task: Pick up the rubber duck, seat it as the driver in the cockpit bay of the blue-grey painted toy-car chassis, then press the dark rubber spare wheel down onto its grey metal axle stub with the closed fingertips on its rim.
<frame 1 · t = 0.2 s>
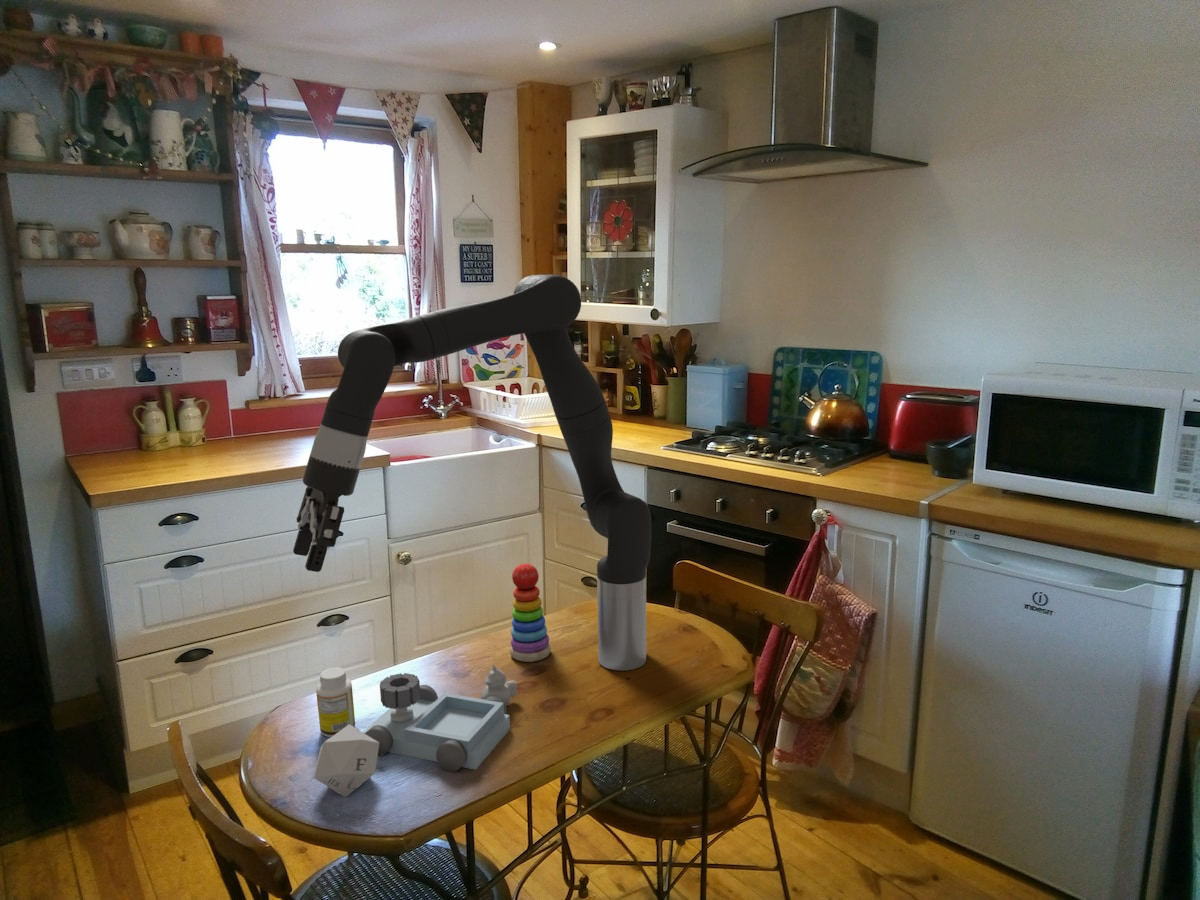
hand: (306, 562, 123), 31 cm above the table, tool tilted 20°, fingers open, 8 cm apart
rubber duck: (500, 706, 142), on the table
die: (349, 785, 120), on the table
stacking toy: (530, 655, 161), on the table
chassis: (437, 737, 132), on the table
spare wheel: (400, 690, 133), point 7 cm above the table, slide at 0.0 cm
supplement bottle: (338, 731, 135), on the table
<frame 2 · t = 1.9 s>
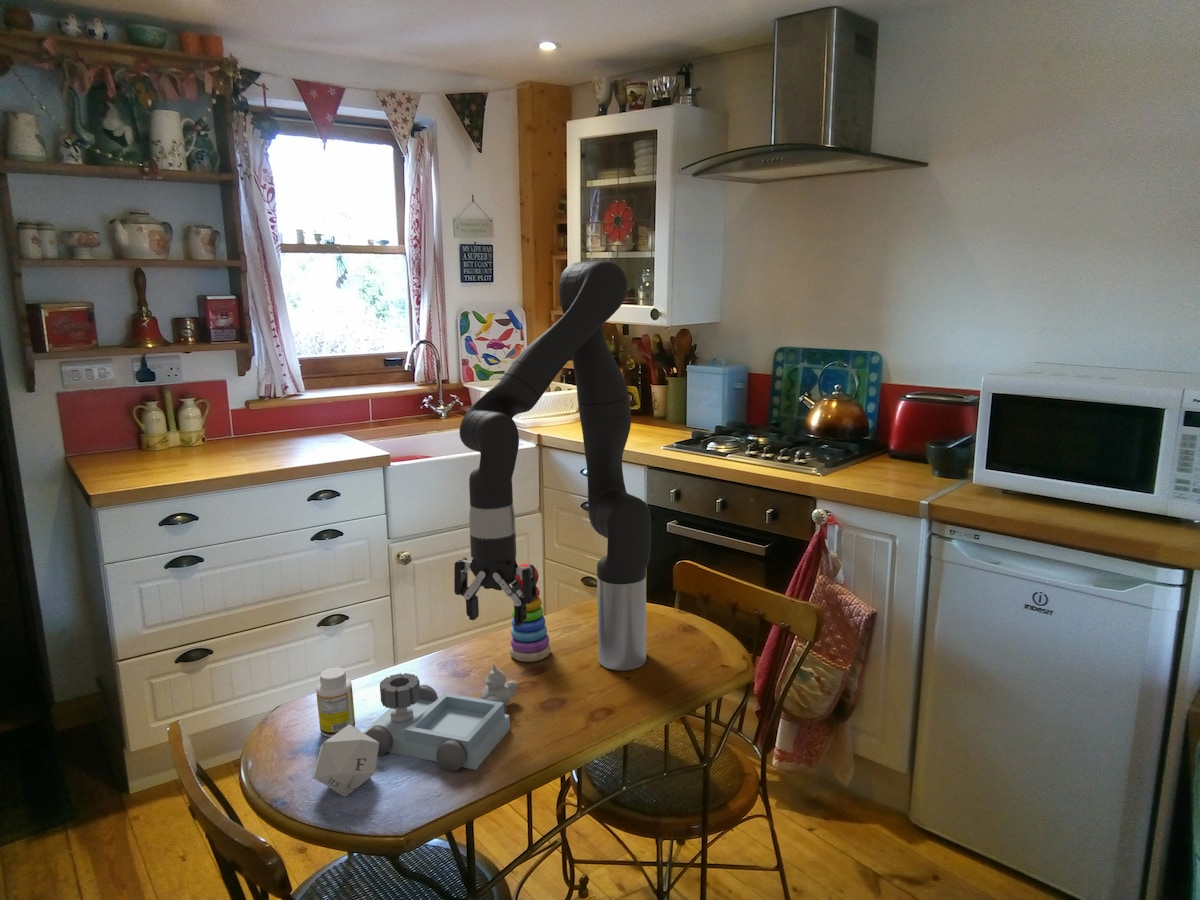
hand: (496, 621, 139), 15 cm above the table, tool pointing down, fingers open, 8 cm apart
nothing on the table moved.
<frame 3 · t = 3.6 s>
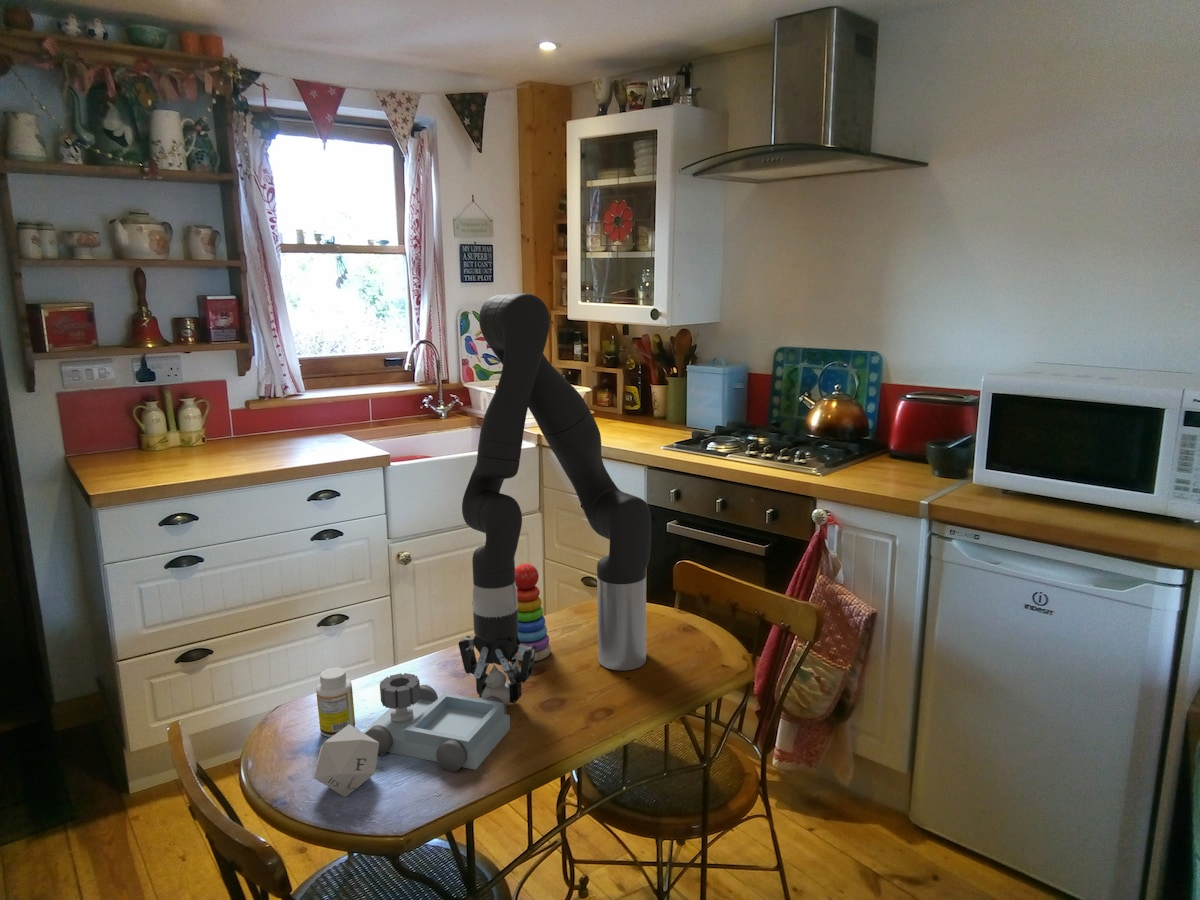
hand: (499, 698, 142), 1 cm above the table, tool pointing down, fingers closed on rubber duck, 5 cm apart
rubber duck: (500, 706, 142), on the table, touching gripper
everything else where it was.
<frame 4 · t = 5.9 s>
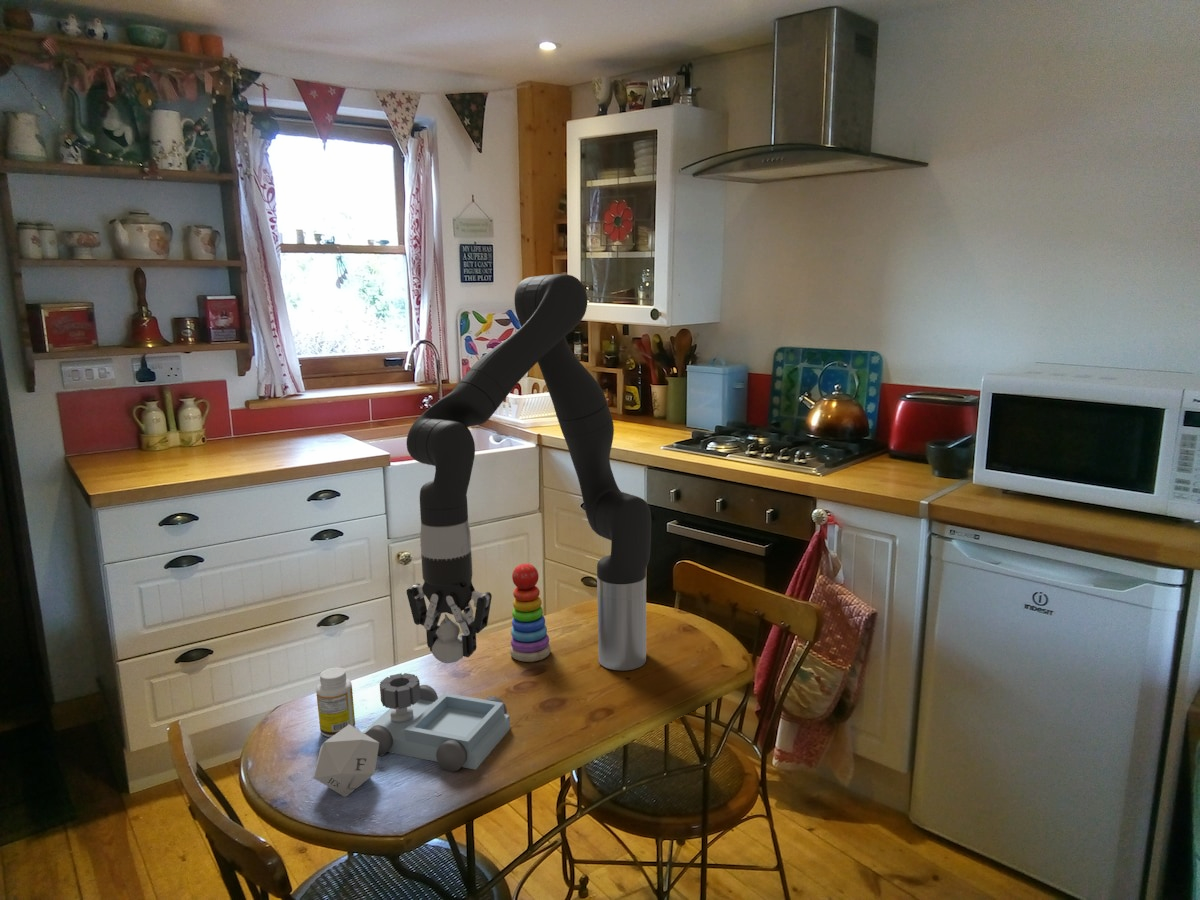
hand: (451, 651, 128), 15 cm above the table, tool pointing down, fingers closed on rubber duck, 5 cm apart
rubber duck: (453, 661, 128), point 14 cm above the table, touching gripper
everything else where it was.
when the fingers open (5 cm above the table, at t = 8.2 s): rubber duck drops 1 cm, resting on chassis.
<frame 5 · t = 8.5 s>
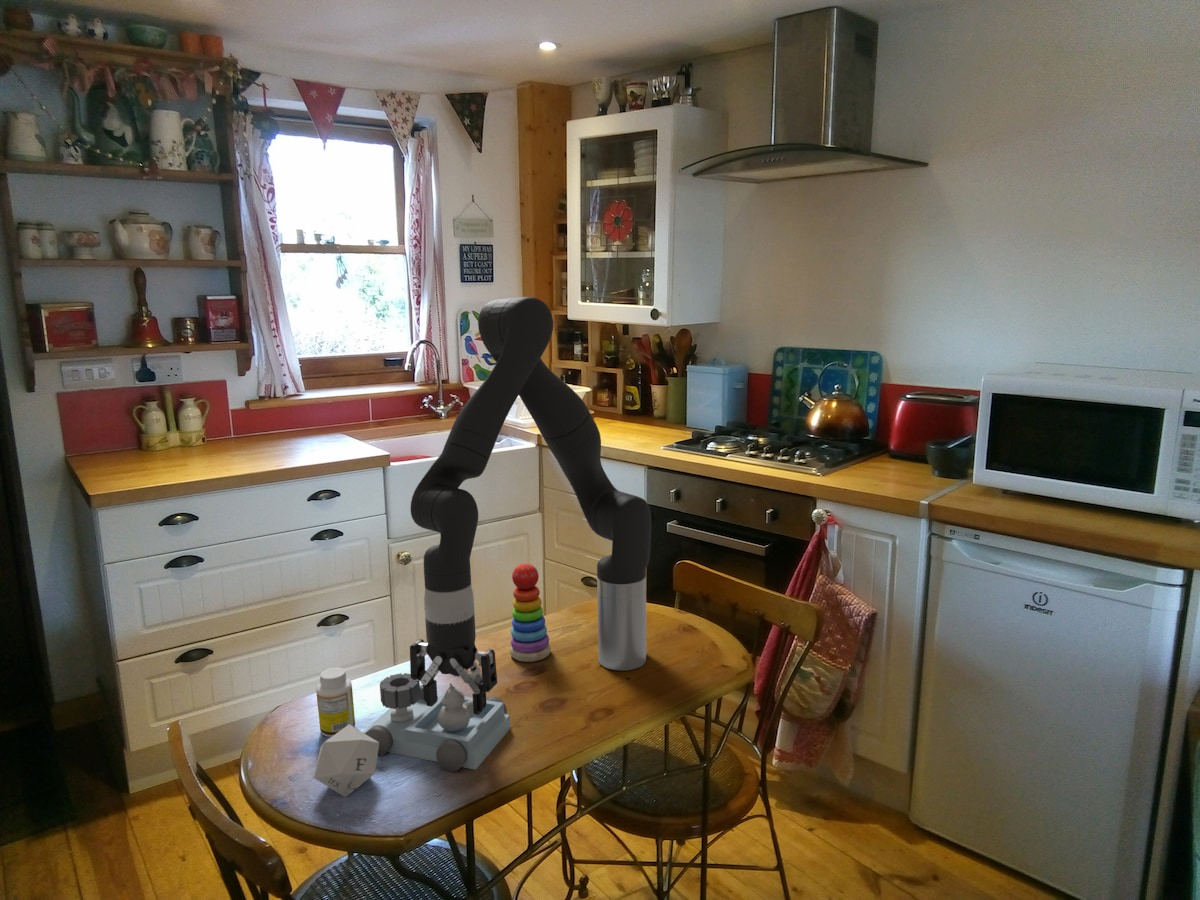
hand: (455, 708, 130), 6 cm above the table, tool pointing down, fingers open, 8 cm apart
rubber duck: (458, 728, 130), point 2 cm above the table, touching chassis
everything else where it was.
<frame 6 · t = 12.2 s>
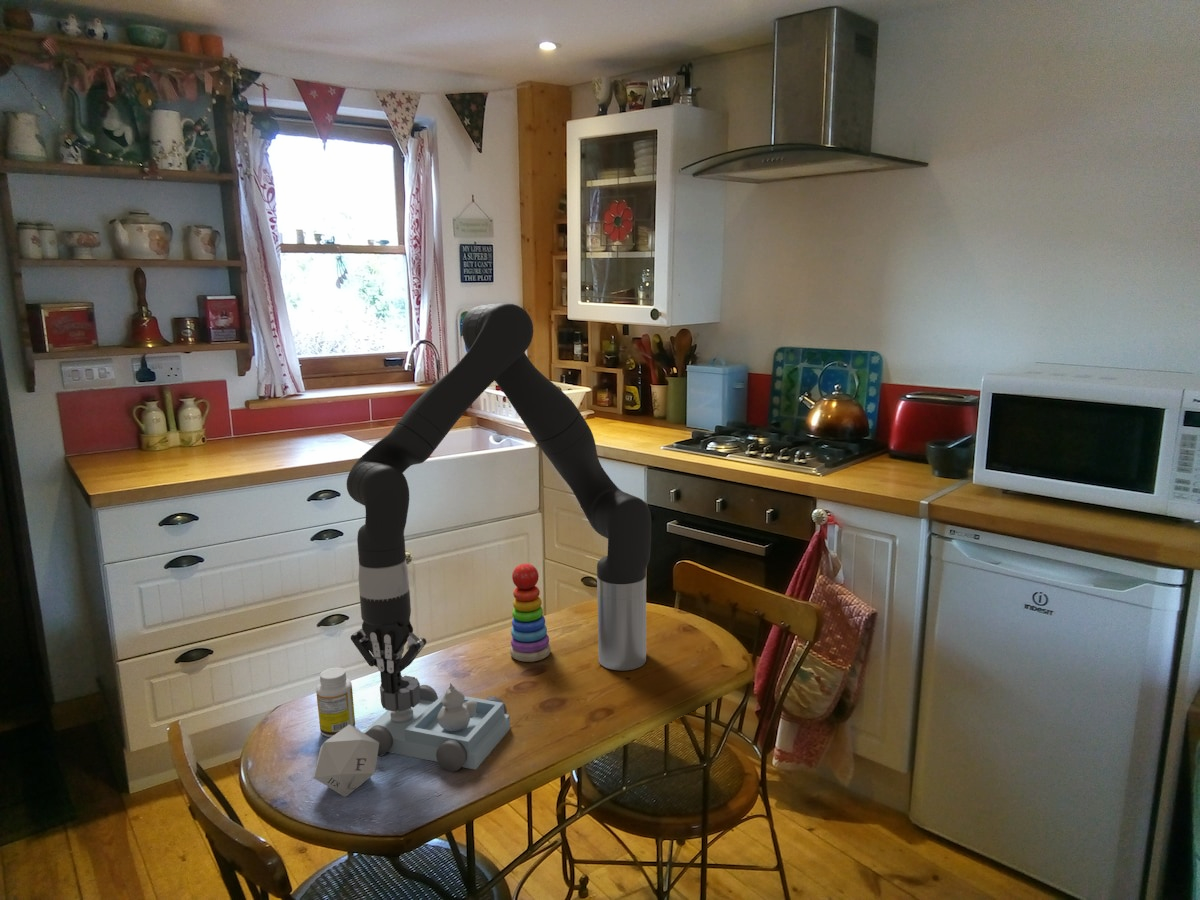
hand: (391, 690, 130), 8 cm above the table, tool pointing down, fingers closed
spare wheel: (400, 693, 133), point 7 cm above the table, slide at 0.4 cm, touching gripper
everything else where it was.
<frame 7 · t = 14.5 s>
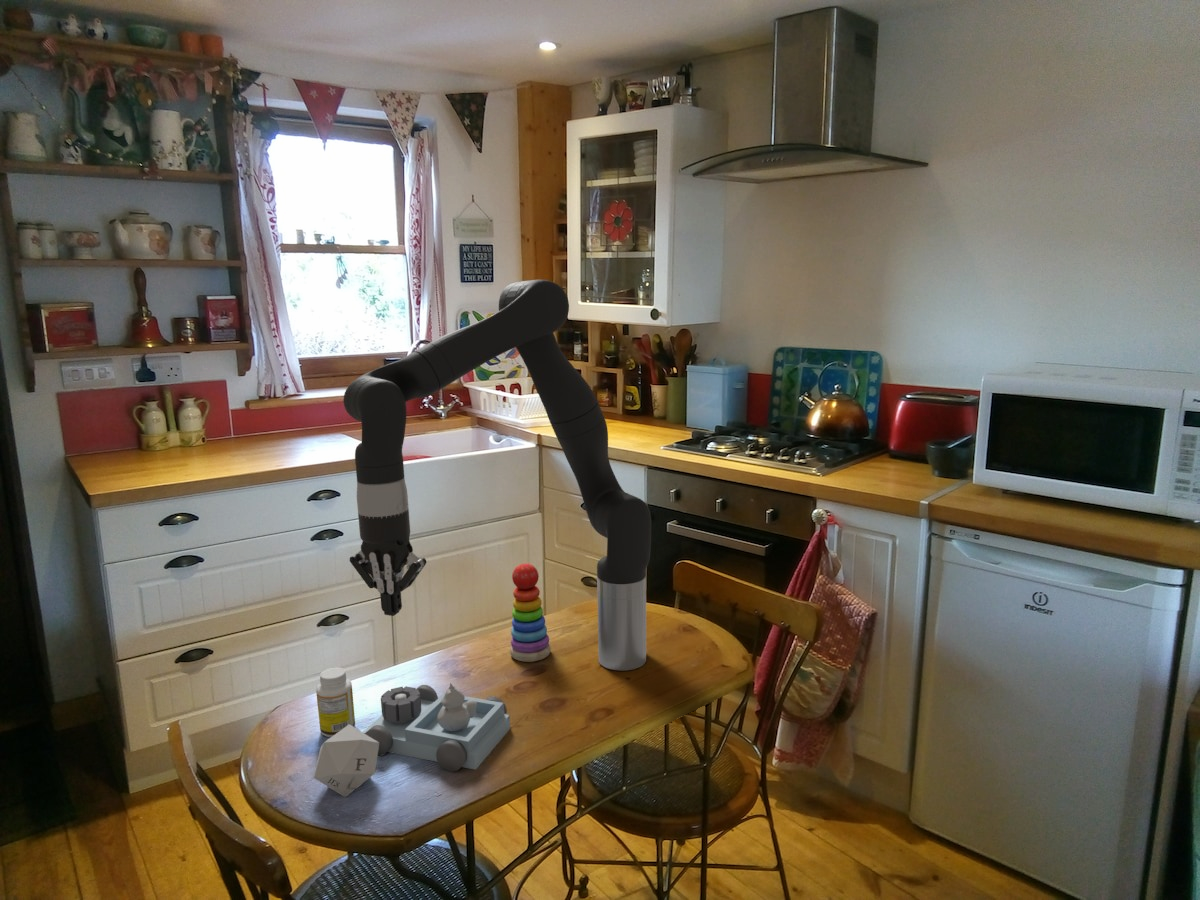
hand: (392, 613, 129), 21 cm above the table, tool pointing down, fingers closed
spare wheel: (401, 704, 133), point 5 cm above the table, slide at 2.4 cm, touching chassis
everything else where it was.
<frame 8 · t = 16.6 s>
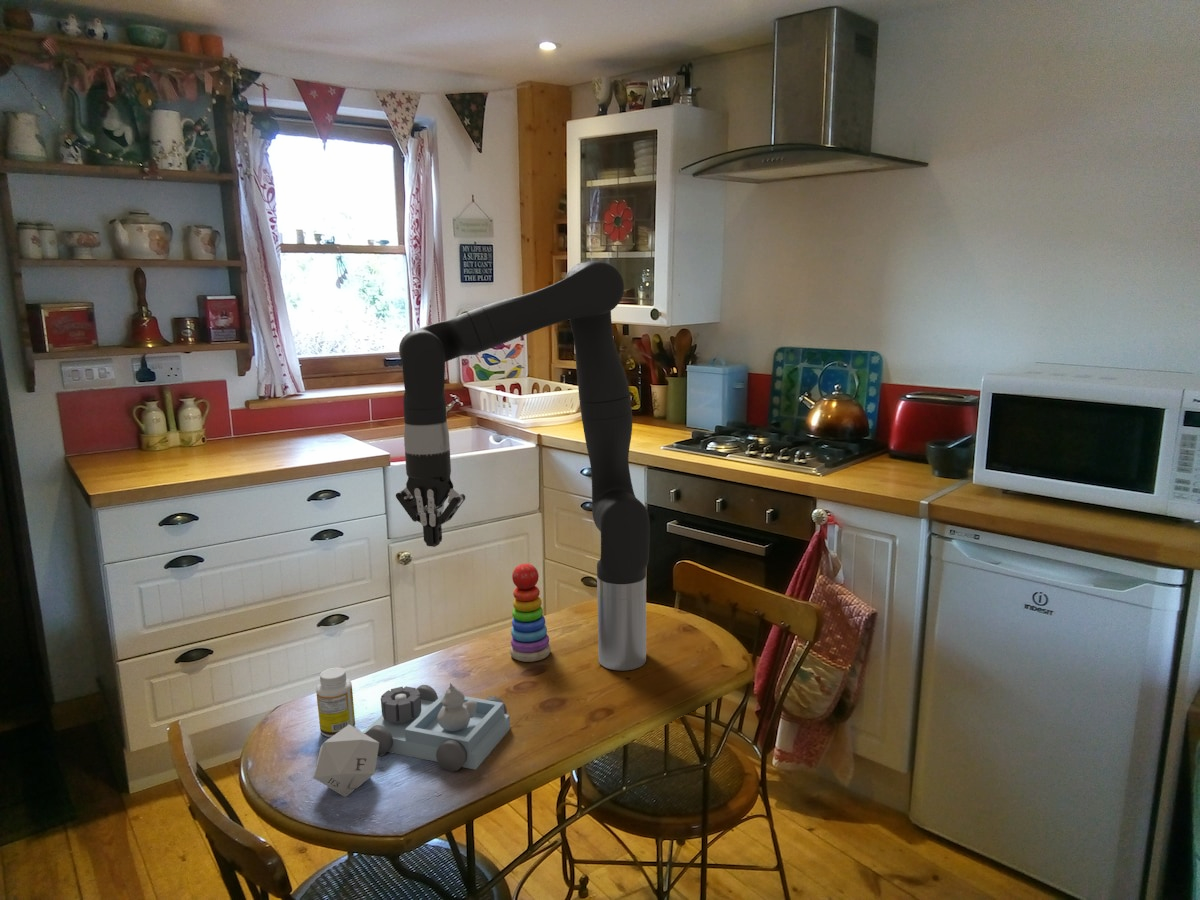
hand: (433, 545, 143), 27 cm above the table, tool pointing down, fingers closed
nothing on the table moved.
at the end: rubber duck inside the target area (0.3 cm from its centre), point 2.3 cm above the table; spare wheel slide at 2.4 cm; the gripper is holding nothing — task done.
